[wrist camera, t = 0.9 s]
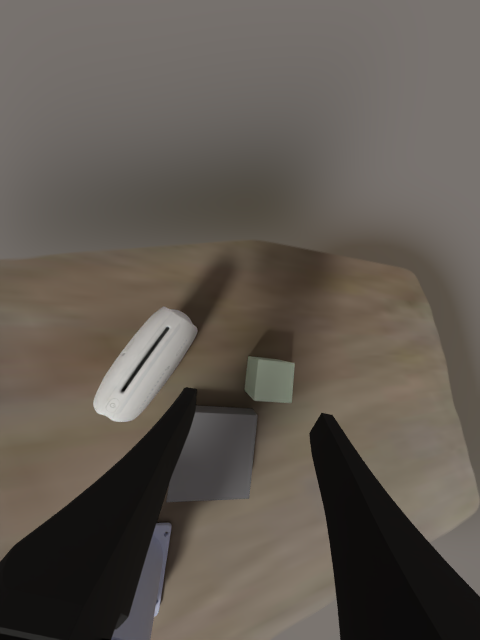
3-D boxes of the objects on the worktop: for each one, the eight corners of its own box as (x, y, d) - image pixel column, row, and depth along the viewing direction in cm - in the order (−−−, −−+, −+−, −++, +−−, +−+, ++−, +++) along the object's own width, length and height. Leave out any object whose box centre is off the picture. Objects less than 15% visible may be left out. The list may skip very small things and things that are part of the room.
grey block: (243, 481, 26) (249, 498, 23) (170, 482, 24) (166, 502, 22) (251, 407, 28) (257, 415, 25) (182, 403, 26) (180, 411, 23)
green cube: (275, 392, 28) (291, 403, 24) (244, 390, 27) (254, 400, 23) (278, 359, 29) (294, 363, 24) (248, 356, 28) (258, 359, 23)
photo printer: (159, 394, 25) (121, 444, 13) (130, 377, 24) (63, 414, 12) (202, 329, 27) (204, 321, 15) (176, 313, 26) (158, 291, 14)
